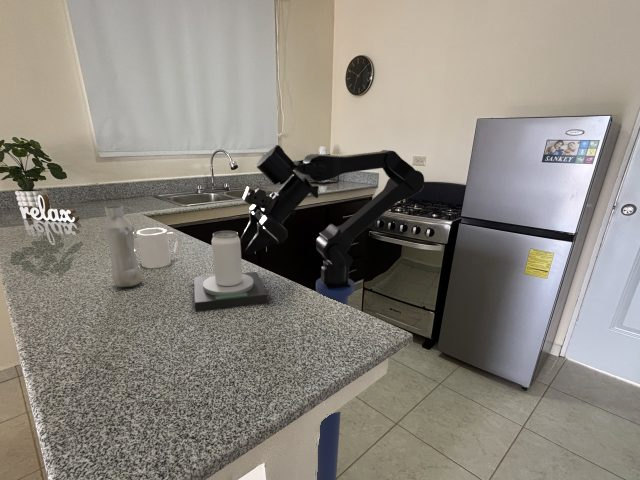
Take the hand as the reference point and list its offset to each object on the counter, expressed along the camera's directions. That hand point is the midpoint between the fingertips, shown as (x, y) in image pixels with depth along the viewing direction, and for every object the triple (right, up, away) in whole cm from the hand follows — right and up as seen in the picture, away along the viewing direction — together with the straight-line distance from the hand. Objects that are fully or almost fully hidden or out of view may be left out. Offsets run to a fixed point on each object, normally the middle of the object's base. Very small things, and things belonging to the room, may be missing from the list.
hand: (243, 247), depth 83 cm
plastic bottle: (-31, -9, +7) cm, 33 cm away
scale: (-4, -11, +3) cm, 12 cm away
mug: (-29, -3, +23) cm, 37 cm away
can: (-4, -8, +2) cm, 9 cm away
